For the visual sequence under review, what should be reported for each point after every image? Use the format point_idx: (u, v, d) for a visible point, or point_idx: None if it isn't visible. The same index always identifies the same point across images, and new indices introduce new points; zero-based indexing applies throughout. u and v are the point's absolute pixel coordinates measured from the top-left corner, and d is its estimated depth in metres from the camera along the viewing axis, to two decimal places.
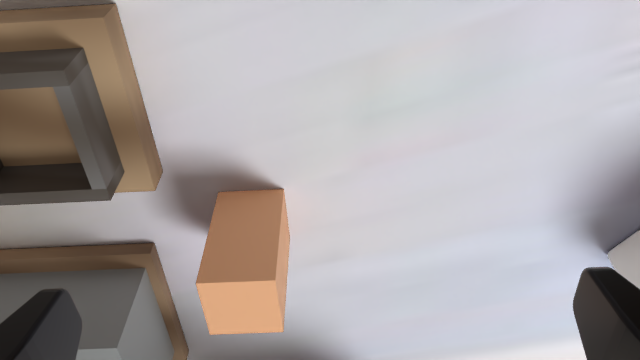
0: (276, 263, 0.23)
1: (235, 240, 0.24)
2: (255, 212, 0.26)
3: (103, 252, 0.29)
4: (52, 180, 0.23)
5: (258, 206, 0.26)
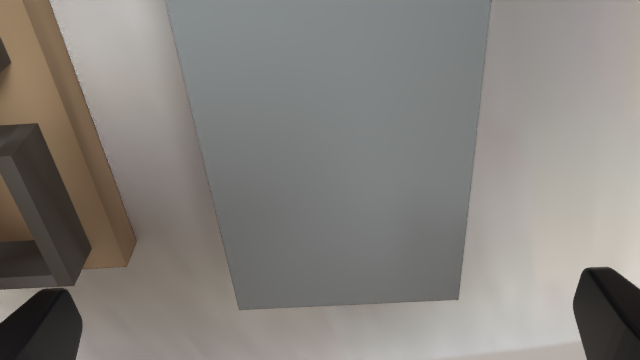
0: None
1: None
2: None
3: None
4: None
5: None
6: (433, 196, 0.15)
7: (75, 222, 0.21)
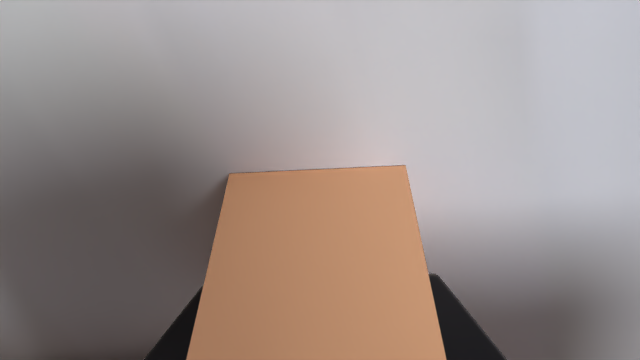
0: None
1: None
2: None
3: None
4: None
5: None
6: None
7: None
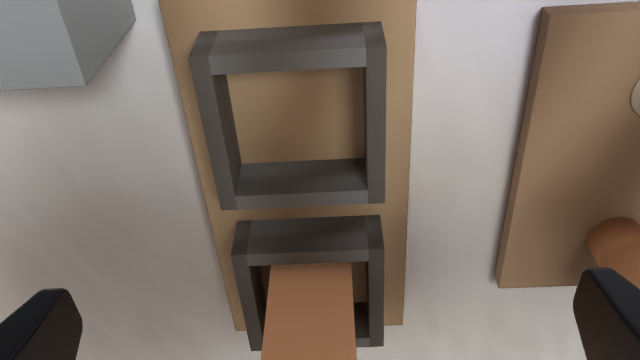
0: (264, 341, 0.19)
1: None
2: None
3: (535, 81, 0.20)
4: (365, 111, 0.18)
5: None
6: None
7: None
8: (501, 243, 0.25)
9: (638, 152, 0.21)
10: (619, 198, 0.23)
